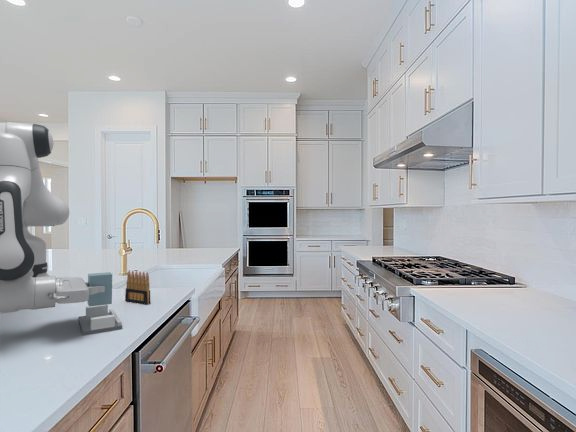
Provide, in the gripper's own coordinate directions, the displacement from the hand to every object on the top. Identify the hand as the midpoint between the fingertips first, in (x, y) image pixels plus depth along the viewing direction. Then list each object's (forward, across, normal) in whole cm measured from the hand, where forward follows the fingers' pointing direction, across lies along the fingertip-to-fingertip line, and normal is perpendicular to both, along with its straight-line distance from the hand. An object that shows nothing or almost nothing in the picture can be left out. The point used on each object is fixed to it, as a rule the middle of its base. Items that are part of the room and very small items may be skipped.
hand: (103, 286), depth 105 cm
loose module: (-1, 0, +5) cm, 5 cm away
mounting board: (-1, 0, +11) cm, 11 cm away
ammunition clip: (+14, +20, +12) cm, 27 cm away
